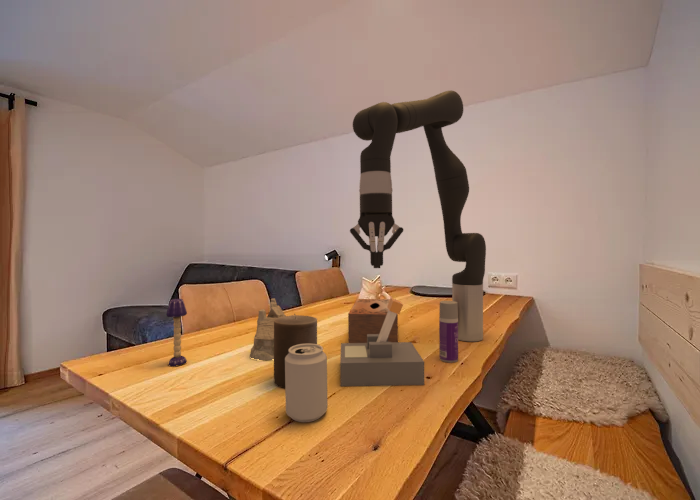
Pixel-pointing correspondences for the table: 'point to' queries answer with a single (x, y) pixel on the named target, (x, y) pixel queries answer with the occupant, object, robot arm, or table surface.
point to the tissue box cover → (369, 320)
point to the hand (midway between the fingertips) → (376, 267)
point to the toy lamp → (177, 329)
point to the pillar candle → (291, 340)
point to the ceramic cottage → (266, 333)
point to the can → (306, 382)
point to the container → (448, 331)
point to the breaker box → (380, 363)
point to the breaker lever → (389, 319)
